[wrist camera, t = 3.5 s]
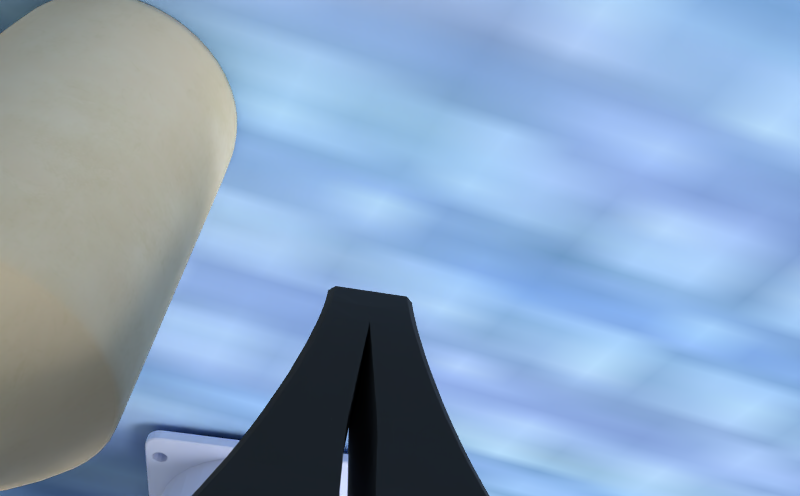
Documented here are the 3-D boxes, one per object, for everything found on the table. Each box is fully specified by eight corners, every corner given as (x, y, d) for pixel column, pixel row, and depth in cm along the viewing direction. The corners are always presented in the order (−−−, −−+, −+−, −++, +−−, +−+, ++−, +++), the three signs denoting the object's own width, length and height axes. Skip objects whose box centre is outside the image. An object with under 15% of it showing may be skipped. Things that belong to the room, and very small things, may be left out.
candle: (262, 38, 16) (100, 371, 8) (217, 225, 19) (69, 595, 11) (6, -50, 15) (-468, 232, 7) (4, 164, 18) (-323, 522, 10)
